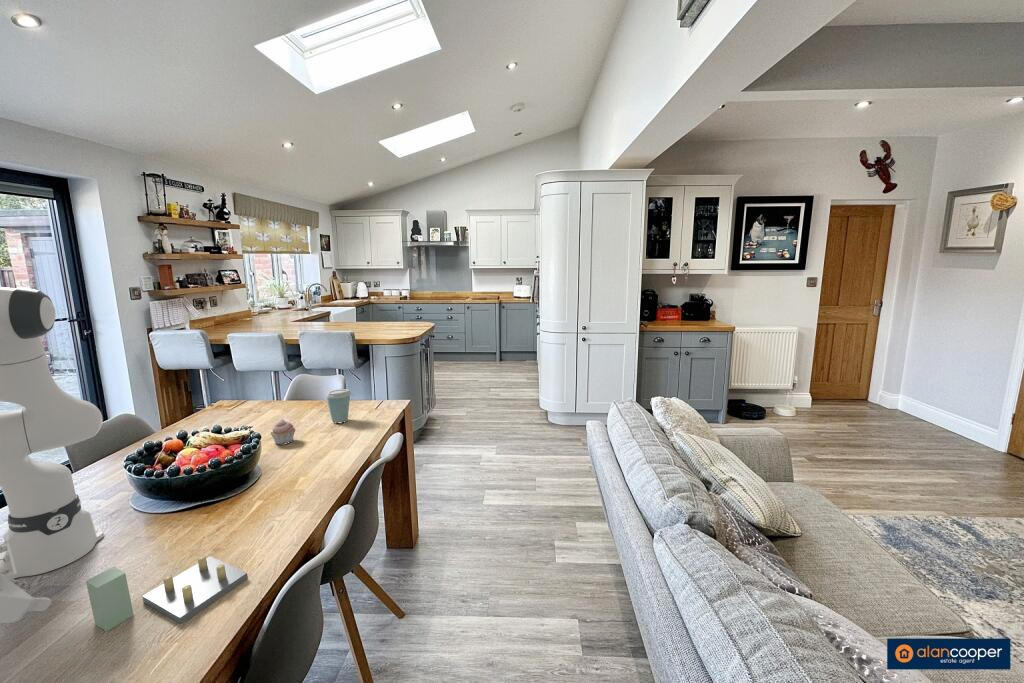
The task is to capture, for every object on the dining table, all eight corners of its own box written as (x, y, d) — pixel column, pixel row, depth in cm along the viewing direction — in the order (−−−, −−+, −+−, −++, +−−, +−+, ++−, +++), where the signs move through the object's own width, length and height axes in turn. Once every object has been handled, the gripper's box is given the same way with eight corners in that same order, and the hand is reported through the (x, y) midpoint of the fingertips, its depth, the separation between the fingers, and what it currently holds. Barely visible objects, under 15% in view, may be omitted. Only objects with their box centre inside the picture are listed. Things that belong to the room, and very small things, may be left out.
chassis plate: (143, 602, 92) (139, 583, 92) (211, 561, 105) (208, 545, 104) (181, 624, 87) (177, 604, 86) (247, 578, 99) (245, 561, 98)
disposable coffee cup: (323, 422, 197) (320, 391, 194) (344, 415, 206) (341, 385, 203) (337, 427, 191) (334, 395, 188) (357, 420, 200) (355, 389, 197)
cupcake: (302, 438, 179) (299, 415, 178) (286, 447, 170) (284, 424, 169) (282, 436, 181) (279, 414, 179) (266, 446, 172) (263, 422, 170)
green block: (95, 624, 87) (85, 580, 85) (122, 608, 91) (113, 566, 89) (106, 631, 85) (97, 587, 83) (133, 615, 89) (125, 572, 87)
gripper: (-23, 583, 64) (77, 594, 74) (-69, 546, 72) (26, 561, 83) (-63, 631, 61) (46, 636, 71) (-107, 587, 69) (-3, 597, 80)
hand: (35, 596), depth 77 cm, fingers open, 8 cm apart
